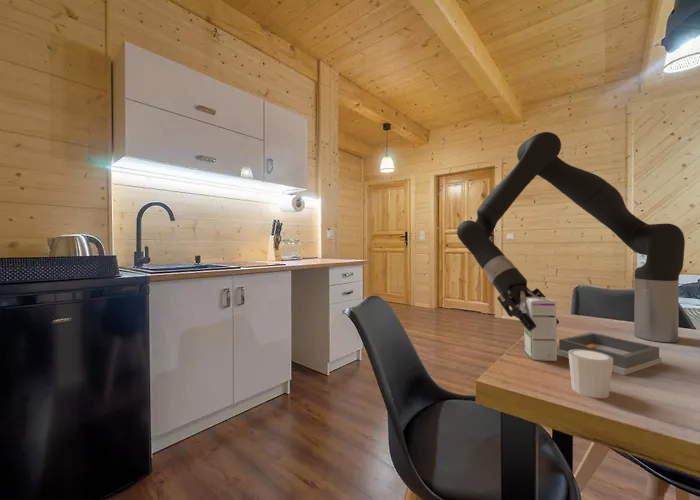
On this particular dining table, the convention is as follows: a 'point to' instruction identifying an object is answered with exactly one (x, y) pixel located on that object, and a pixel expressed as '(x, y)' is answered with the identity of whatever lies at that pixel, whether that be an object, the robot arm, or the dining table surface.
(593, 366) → the white cup
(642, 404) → the dining table surface
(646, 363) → the pocket plate
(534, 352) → the syrup box
